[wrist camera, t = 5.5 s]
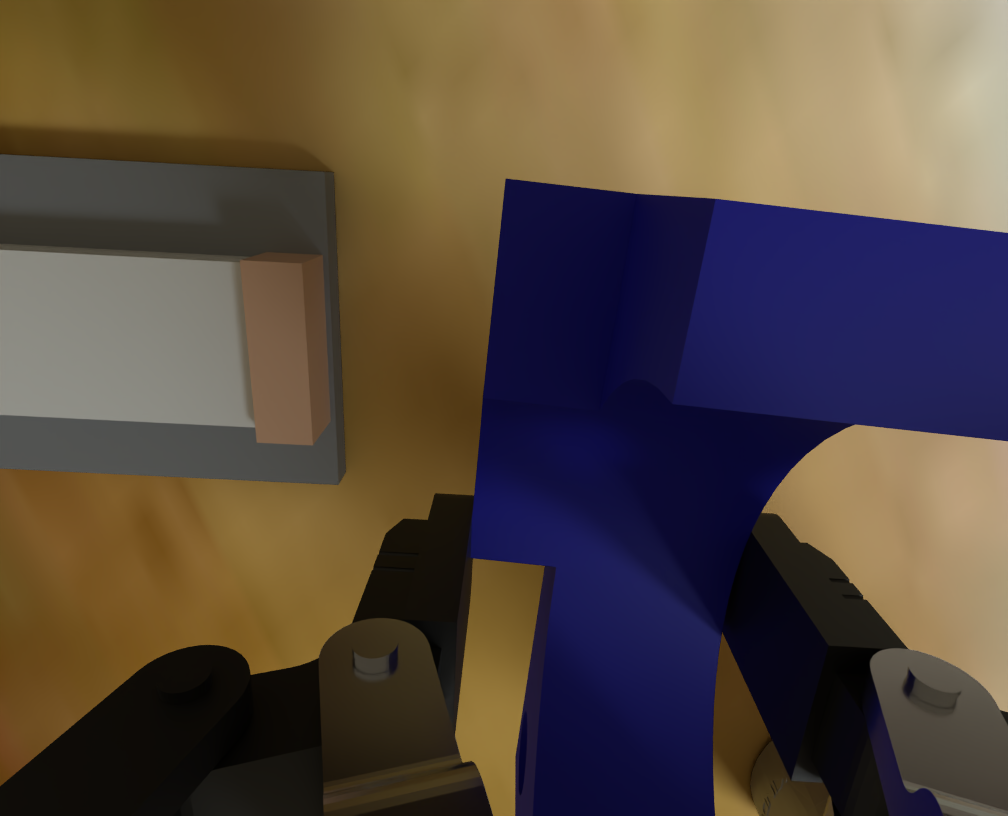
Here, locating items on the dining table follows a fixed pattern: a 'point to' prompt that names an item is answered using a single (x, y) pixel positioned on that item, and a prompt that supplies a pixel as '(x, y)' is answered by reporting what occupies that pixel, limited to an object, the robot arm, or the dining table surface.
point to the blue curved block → (690, 440)
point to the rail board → (171, 225)
